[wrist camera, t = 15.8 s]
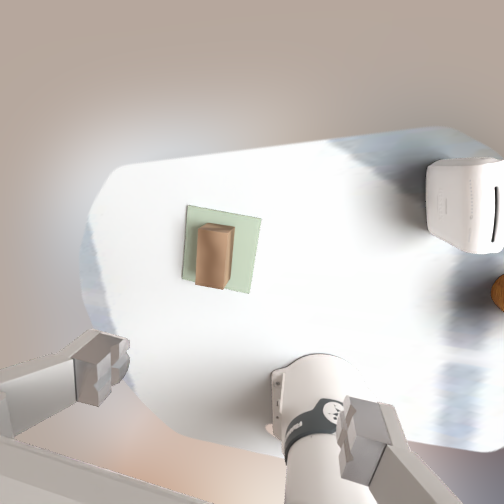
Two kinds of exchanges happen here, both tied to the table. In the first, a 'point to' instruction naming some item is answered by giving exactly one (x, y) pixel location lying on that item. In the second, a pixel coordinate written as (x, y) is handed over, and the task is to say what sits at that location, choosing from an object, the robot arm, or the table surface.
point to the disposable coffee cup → (498, 292)
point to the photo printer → (467, 203)
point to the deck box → (214, 255)
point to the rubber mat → (242, 247)
